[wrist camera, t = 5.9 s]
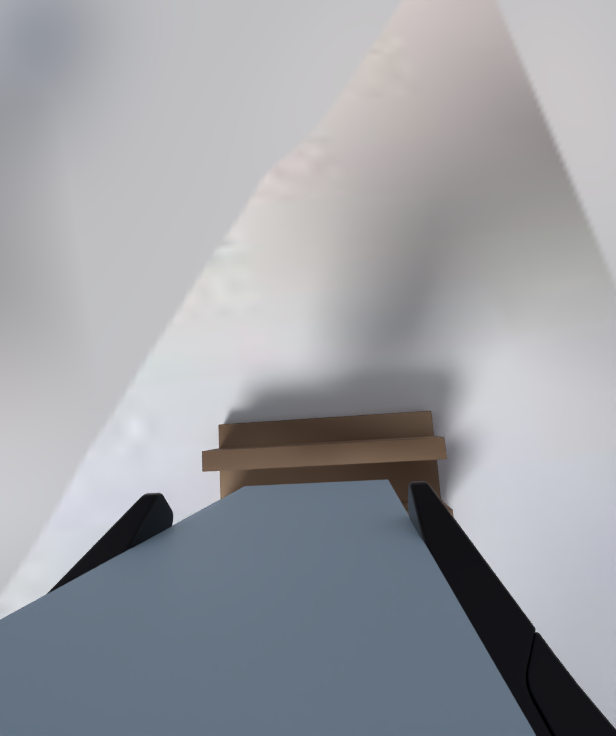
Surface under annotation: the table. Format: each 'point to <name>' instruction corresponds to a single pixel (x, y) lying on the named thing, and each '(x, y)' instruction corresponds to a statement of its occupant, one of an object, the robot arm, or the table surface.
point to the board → (259, 631)
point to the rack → (329, 452)
